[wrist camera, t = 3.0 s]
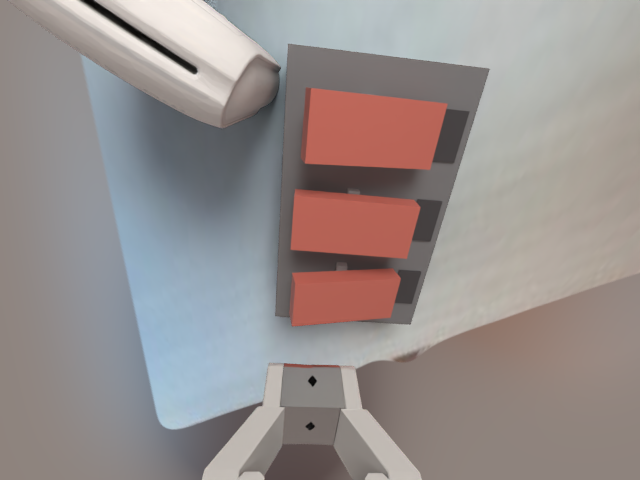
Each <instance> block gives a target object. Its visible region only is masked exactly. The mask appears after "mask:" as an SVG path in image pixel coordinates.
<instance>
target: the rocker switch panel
mask: <svg viewBox="0 0 640 480" xmlns="http://www.w3.org/2000/svg"><path fill="white" fill-rule="evenodd" d="M488 72H489V69H487V68H479V67H471V66H463V65H455V64H447V63H439V62H431V61H423V60H415V59H407V58H399V57H391V56H383V55H375V54H367V53H359V52H351V51H343V50H335V49H327V48H319V47H311V46H303V45H295V44H288V57H287V78H286V99H285V121H284V142H283V163H282V185H281V206H280V227H279V249H278V270H277V291H276V313H275V316H280V317H290V315H289V310H290V297H291V283H292V273H299V272H321V271H344V270H367V269H389V268H393V269H394V270H395V272H396V273H397V274H398V275H399V277H400V278H401V280H400V284H399V288H398V291H397V295H396V299H395V303H394V306H393V310H392V314H391V318H382V319H370V320H359V321H361V322H377V323H393V324H409V325H410V324H411V321H412V318H413V314H414V311H415V308H416V305H417V302H418V298H419V295H420V292H421V289H422V285H423V282H424V279H425V276H426V272H427V269H428V266H429V263H430V260H431V256H432V253H433V250H434V247H435V243H436V240H437V237H438V234H439V231H440V227H441V224H442V221H443V218H444V214H445V211H446V208H447V205H448V201H449V198H450V195H451V192H452V189H453V185H454V182H455V179H456V176H457V172H458V169H459V166H460V163H461V160H462V156H463V153H464V150H465V147H466V143H467V140H468V137H469V134H470V130H471V127H472V124H473V121H474V118H475V114H476V111H477V108H478V105H479V101H480V98H481V95H482V92H483V89H484V85H485V82H486V79H487V76H488ZM306 87H307V88H316V89H325V90H333V91H342V92H351V93H360V94H368V95H377V96H386V97H395V98H403V99H412V100H421V101H430V102H438V103H446V104H448V105H447V108H446V112H445V116H444V120H443V123H442V127H441V131H440V135H439V138H438V142H437V146H436V150H435V153H434V157H433V161H432V164H431V168H430V170H425V169H405V168H384V167H364V166H343V165H323V164H305V163H304V162H303V160H302V159H301V146H302V133H303V119H304V105H305V92H306ZM295 189H302V190H313V191H324V192H335V193H346V194H357V195H368V196H379V197H390V198H400V199H411V200H415V201H416V203H417V204H418V205H419V206H420V207H421V208H420V212H419V215H418V219H417V223H416V226H415V230H414V234H413V238H412V241H411V245H410V249H409V252H408V256H407V259H403V258H390V257H377V256H365V255H352V254H339V253H326V252H313V251H300V250H291V237H292V222H293V207H294V194H295Z"/></svg>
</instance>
